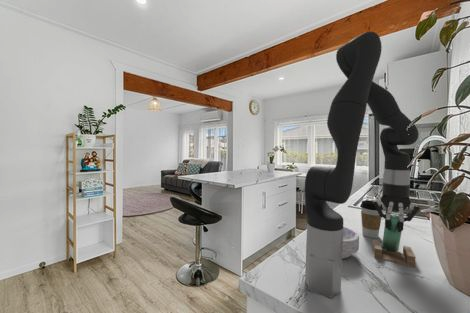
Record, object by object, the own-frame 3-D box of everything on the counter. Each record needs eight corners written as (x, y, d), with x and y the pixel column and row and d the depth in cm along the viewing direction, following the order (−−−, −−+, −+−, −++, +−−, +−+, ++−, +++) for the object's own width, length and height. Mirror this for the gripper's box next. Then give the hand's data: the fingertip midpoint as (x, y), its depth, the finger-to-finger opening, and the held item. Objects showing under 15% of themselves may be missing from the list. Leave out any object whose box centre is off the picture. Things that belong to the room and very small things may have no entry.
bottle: (399, 253, 77) (404, 223, 71) (382, 250, 79) (386, 220, 73) (397, 242, 81) (402, 213, 74) (382, 239, 83) (385, 210, 77)
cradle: (414, 266, 68) (415, 257, 68) (374, 257, 74) (374, 248, 74) (409, 256, 75) (410, 247, 75) (373, 248, 81) (373, 239, 81)
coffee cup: (357, 235, 93) (358, 201, 92) (361, 229, 99) (363, 198, 98) (380, 241, 87) (381, 205, 86) (383, 235, 93) (385, 201, 92)
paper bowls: (304, 246, 82) (304, 226, 81) (334, 240, 87) (334, 221, 87) (335, 267, 68) (336, 243, 67) (368, 259, 73) (369, 236, 73)
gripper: (372, 182, 74) (370, 230, 75) (425, 186, 67) (422, 239, 68) (371, 178, 80) (369, 223, 81) (419, 182, 73) (416, 230, 74)
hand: (393, 230), depth 75 cm, fingers closed on bottle, 2 cm apart
